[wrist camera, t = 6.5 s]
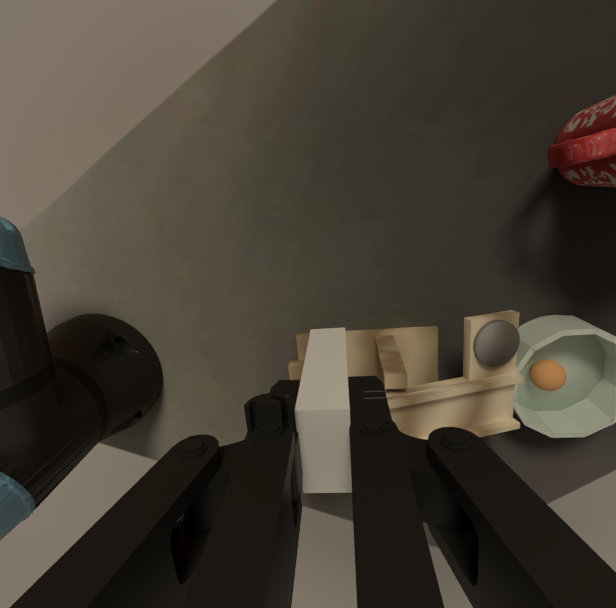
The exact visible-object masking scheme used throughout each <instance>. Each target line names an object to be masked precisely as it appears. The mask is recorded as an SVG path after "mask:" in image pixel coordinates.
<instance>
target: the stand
mask: <svg viewBox="0 0 616 608" xmlns="http://www.w3.org/2000/svg"><path fill="white" fill-rule="evenodd" d="M309 336H310V333H301V334H297V335H296V339H297V349H298V358H299V360H290V363H289V366H288V369H289V378H290V380H301V376H302V371H303V366H304V361H305V356H306V351H307V346H308V341H309ZM345 337H346V354H347V371H348V377H352V376H376V377H378V378H379V379H380V380H381V381H382V382H383V385H384V389H385V392H386V391H387V389H404V388H408V387H412V386H417V385H422V384H427V383H432V382H438V328H437V326H429V327H410V328H392V329H374V330H356V331H345Z"/></svg>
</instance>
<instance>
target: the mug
mask: <svg viewBox="0 0 616 608" xmlns="http://www.w3.org/2000/svg"><path fill="white" fill-rule="evenodd" d="M548 161H549V165H550V167H552V168H557V169H558V171H559V173H560V174H561V175H562V176H563V177H564V178H565V179H566V180H567V181H569V182H571V183H574V184H577V185H582V186H594V187H600V186H602V187H616V95H614V96H612V97H610V98H608V99H606V100H604V101H602V102H599V103H596V104H595V105H593V106H590V107H588V108H586V109H584V110H582V111H581V112H579V113H577V114H576V115H575V116H573V117H572V118H571V119H570V120H569V121H568V122H567V123H566V124H565V125H564V126H563V128H562V130H561V131H560V133H559V135H558V137H557V139H556V142H555V144H554V145H551V146H550V147H549V149H548Z"/></svg>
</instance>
